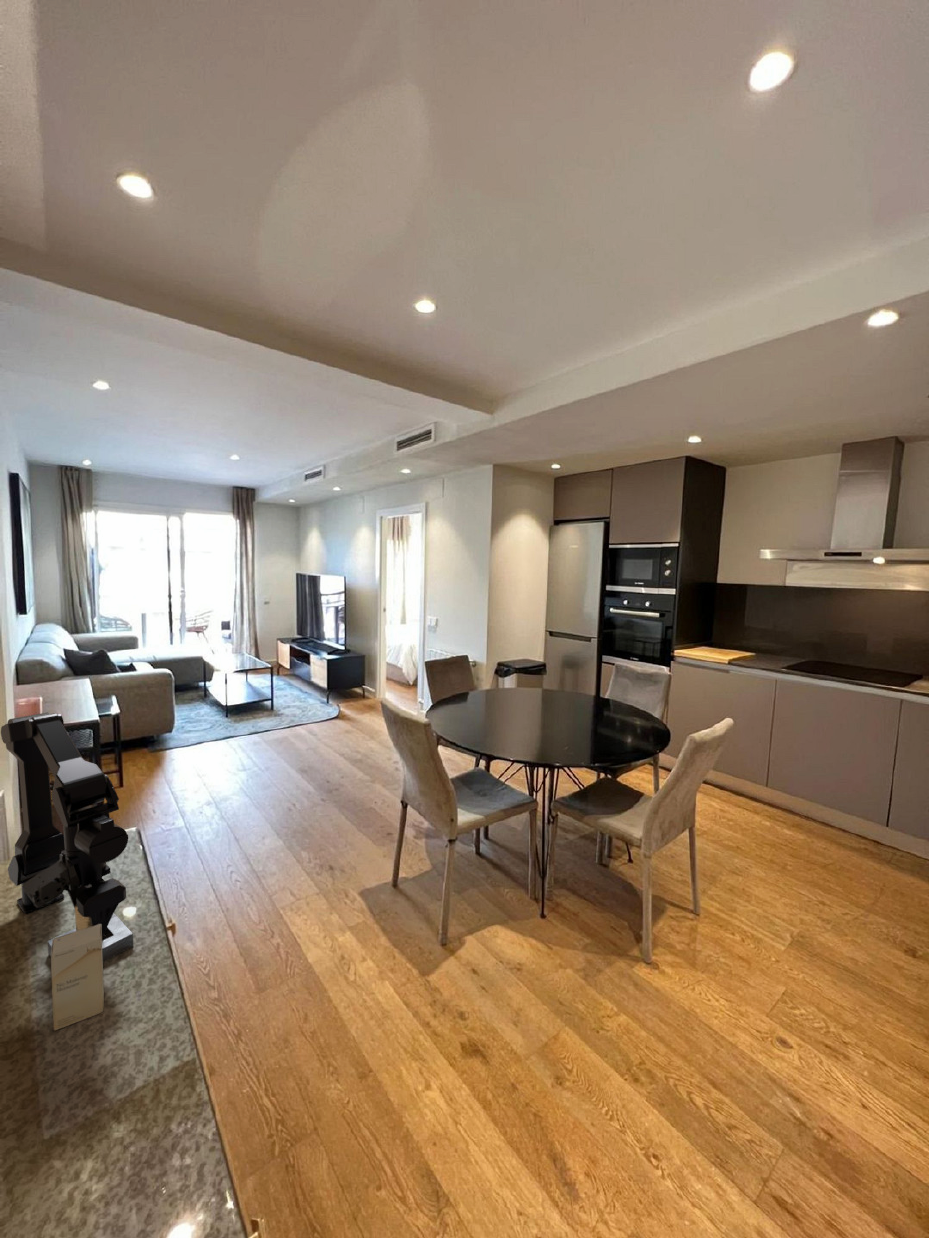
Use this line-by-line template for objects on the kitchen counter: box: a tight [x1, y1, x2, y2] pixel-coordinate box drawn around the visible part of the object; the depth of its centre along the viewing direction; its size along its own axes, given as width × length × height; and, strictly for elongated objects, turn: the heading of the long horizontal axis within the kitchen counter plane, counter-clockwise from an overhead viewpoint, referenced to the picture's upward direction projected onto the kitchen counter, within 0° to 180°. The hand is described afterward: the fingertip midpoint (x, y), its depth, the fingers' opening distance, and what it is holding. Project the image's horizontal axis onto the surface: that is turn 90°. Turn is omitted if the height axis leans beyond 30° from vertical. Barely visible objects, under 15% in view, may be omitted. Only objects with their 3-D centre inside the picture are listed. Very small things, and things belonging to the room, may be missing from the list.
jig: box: [47, 912, 134, 963], centre depth 90 cm, size 10×10×2 cm
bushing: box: [74, 904, 106, 941], centre depth 90 cm, size 4×4×9 cm
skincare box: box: [50, 924, 105, 1031], centre depth 77 cm, size 6×4×12 cm
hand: (90, 925), depth 90 cm, fingers open, 9 cm apart
